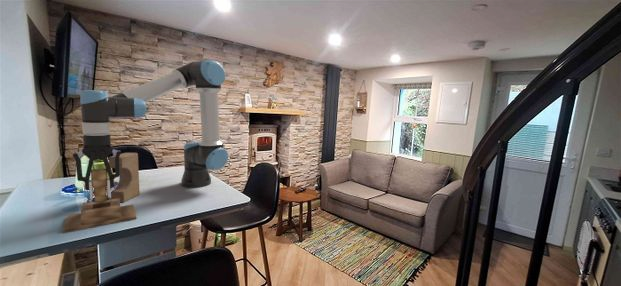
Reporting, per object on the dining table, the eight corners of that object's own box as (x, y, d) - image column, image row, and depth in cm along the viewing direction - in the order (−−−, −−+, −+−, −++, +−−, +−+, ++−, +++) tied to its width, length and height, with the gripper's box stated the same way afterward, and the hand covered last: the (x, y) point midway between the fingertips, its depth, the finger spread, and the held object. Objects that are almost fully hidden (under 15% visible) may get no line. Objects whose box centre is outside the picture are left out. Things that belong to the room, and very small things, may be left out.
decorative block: (123, 202, 110) (120, 157, 108) (110, 202, 110) (107, 156, 108) (140, 194, 121) (138, 152, 119) (128, 193, 121) (126, 152, 119)
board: (133, 206, 107) (133, 195, 106) (136, 218, 96) (135, 206, 95) (68, 217, 95) (67, 204, 94) (62, 232, 84) (61, 218, 83)
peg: (108, 198, 98) (106, 167, 96) (108, 202, 94) (106, 170, 93) (93, 200, 95) (91, 169, 93) (92, 204, 91) (90, 171, 90)
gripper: (126, 132, 99) (128, 190, 103) (64, 133, 89) (69, 198, 92) (127, 134, 94) (130, 196, 97) (61, 136, 83) (66, 205, 86)
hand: (100, 197), depth 94 cm, fingers closed on peg, 4 cm apart
